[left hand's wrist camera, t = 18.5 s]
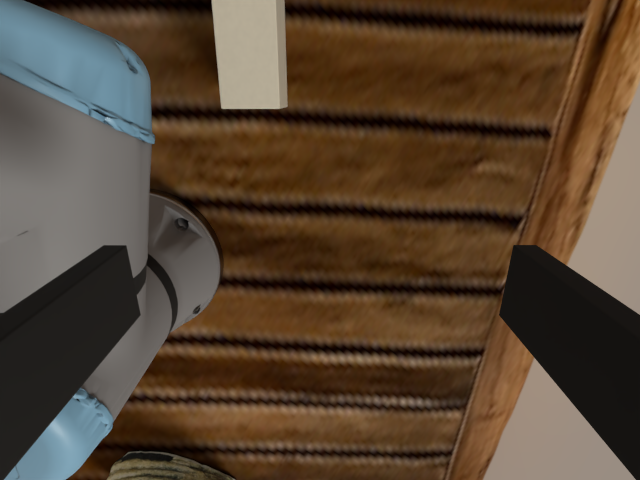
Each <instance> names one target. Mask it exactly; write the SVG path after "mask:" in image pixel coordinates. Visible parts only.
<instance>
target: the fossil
mask: <svg viewBox="0 0 640 480" xmlns="http://www.w3.org/2000/svg"><path fill="white" fill-rule="evenodd" d="M107 480H235V479H233V478H232V477H230V476H228V475H225V474H224V473H222V472H220V471H217V470H215V469H213V468H210V467H208V466H206V465H201V464H199V463H197V462H196V461H193V460H190V459H187V458H184V457H181V456H177V455H174V454H169V453H164V452H151V451H149V452H142V451H136V452H128V453H127V454H126V455H125V456H123V457H122V458H121V459H119V460H117V461H116V462H115V463H114V464H113V466H112V467H111V471H110V475H109V477H108V479H107Z"/></svg>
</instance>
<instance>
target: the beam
mask: <svg viewBox="0 0 640 480" xmlns="http://www.w3.org/2000/svg"><path fill="white" fill-rule="evenodd" d="M211 1H212V12H213V23H214V34H215V45H216V56H217V67H218V78H219V89H220V100H221V108H222V109H280V108H284V107H287V72H286V38H285V4H284V0H211Z"/></svg>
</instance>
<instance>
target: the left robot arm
mask: <svg viewBox="0 0 640 480" xmlns="http://www.w3.org/2000/svg"><path fill="white" fill-rule="evenodd" d="M154 142H155V135H154V134H153V133H152V122H151V85H150V78H149V74H148V71H147V69H146V67H145V65H144V63H143V62H142V60H141V59H140V58H139V57H138V56H137V54H136V53H135V52H134V51H133V50H131V49H130V48H129V47H127V46H126V45H125V44H123V43H121V42H120V41H118V40H116V39H114V38H112V37H110V36H108V35H106V34H104V33H101V32H99V31H97V30H94V29H92V28H90V27H88V26H85V25H83V24H81V23H78V22H76V21H74V20H71V19H69V18H66V17H64V16H61V15H59V14H56V13H54V12H51V11H49V10H46V9H44V8H41V7H39V6H36V5H34V4H31V3H29V2H26V1H24V0H0V480H65V479H67V478H68V477H70V476H71V475H72V474H74V473H75V472H76V471H77V470H78V469H79V468H80V467H81V466H82V465H83V463H84V462H85V461H86V459H87V458H88V457H89V456H90V454H91V453H92V452H93V450H94V449H95V448H96V447H97V445H98V444H99V443H100V442H101V440H102V439H103V438H104V437H105V436H107V434H108V433H109V432H110V430H111V429H112V427H113V422H114V420H115V419H116V417H117V416H118V414H119V412H120V411H121V409H122V408H123V406H124V404H125V403H126V401H127V400H128V398H129V397H130V395H131V393H132V392H133V390H134V389H135V387H136V385H137V384H138V382H139V381H140V379H141V377H142V376H143V374H144V373H145V371H146V370H147V368H148V366H149V365H150V363H151V362H152V360H153V358H154V357H155V355H156V354H157V352H158V350H159V349H160V347H161V346H162V344H163V343H164V341H165V339H166V338H167V336H168V335H169V333H170V332H172V331H173V330H175V329H177V328H178V327H180V326H181V325H182V324H184V323H186V322H188V321H189V320H191V319H192V318H194V317H195V316H197V315H198V314H199V313H200V312H202V311H203V310H204V309H205V308H206V307H207V306H208V304H209V303H210V301H211V300H212V298H213V296H214V295H215V293H216V291H217V289H218V287H219V285H220V282H221V279H222V275H223V265H224V264H223V254H222V249H221V246H220V243H219V240H218V238H217V236H216V234H215V232H214V230H213V229H212V227H211V226H210V224H209V223H208V222H207V220H206V219H205V218H204V217H203V216H202V215H201V214H200V213H199V212H198V211H197V210H196V209H195V208H193V207H192V206H191V205H189V204H188V203H186V202H185V201H183V200H181V199H179V198H178V197H175V196H173V195H171V194H168V193H165V192H162V191H158V190H153V189H150V168H151V149H152V144H154ZM499 315H500V317H501V318H502V319H503V320H504V321H505V323H506V324H507V325H508V326H509V327H510V329H511V330H512V331H513V332H514V333H515V335H516V336H517V337H518V338H519V339H520V341H521V342H522V343H523V344H524V346H525V347H526V348H527V349H528V350H529V352H530V353H531V354H532V355H533V356H534V358H535V359H536V360H537V361H538V362H539V364H540V365H541V366H542V367H543V368H544V370H545V371H546V372H547V373H548V374H549V376H550V377H551V378H552V379H553V380H554V382H555V383H556V384H557V385H558V386H559V388H560V389H561V390H562V391H563V392H564V394H565V395H566V396H567V397H568V398H569V400H570V401H571V402H572V403H573V404H574V406H575V407H576V408H577V409H578V410H579V412H580V413H581V414H582V415H583V416H584V418H585V419H586V420H587V421H588V422H589V424H590V425H591V426H592V427H593V428H594V430H595V431H596V432H597V433H598V434H599V436H600V437H601V438H602V439H603V440H604V442H605V443H606V444H607V445H608V447H609V448H610V449H611V450H612V451H613V452H614V454H615V455H616V456H617V457H618V459H619V460H620V461H621V462H622V463H623V465H624V466H625V467H626V468H627V469H628V470H629V472H630V473H631V474H632V475H633V476H634V478H635V479H636V480H640V315H639V314H637V313H636V312H635V311H633V310H632V309H630V308H628V307H627V306H626V305H624V304H623V303H621V302H620V301H618V300H617V299H615V298H614V297H612V296H611V295H609V294H608V293H606V292H605V291H603V290H602V289H600V288H599V287H597V286H596V285H594V284H593V283H591V282H590V281H589V280H587V279H586V278H584V277H583V276H581V275H580V274H578V273H577V272H575V271H574V270H572V269H571V268H569V267H568V266H566V265H565V264H563V263H562V262H560V261H559V260H557V259H556V258H554V257H553V256H551V255H550V254H548V253H547V252H546V251H544V250H543V249H541V248H540V247H538V246H537V245H514V246H513V251H512V255H511V260H510V265H509V270H508V275H507V280H506V284H505V289H504V294H503V299H502V304H501V309H500V314H499Z"/></svg>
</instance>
